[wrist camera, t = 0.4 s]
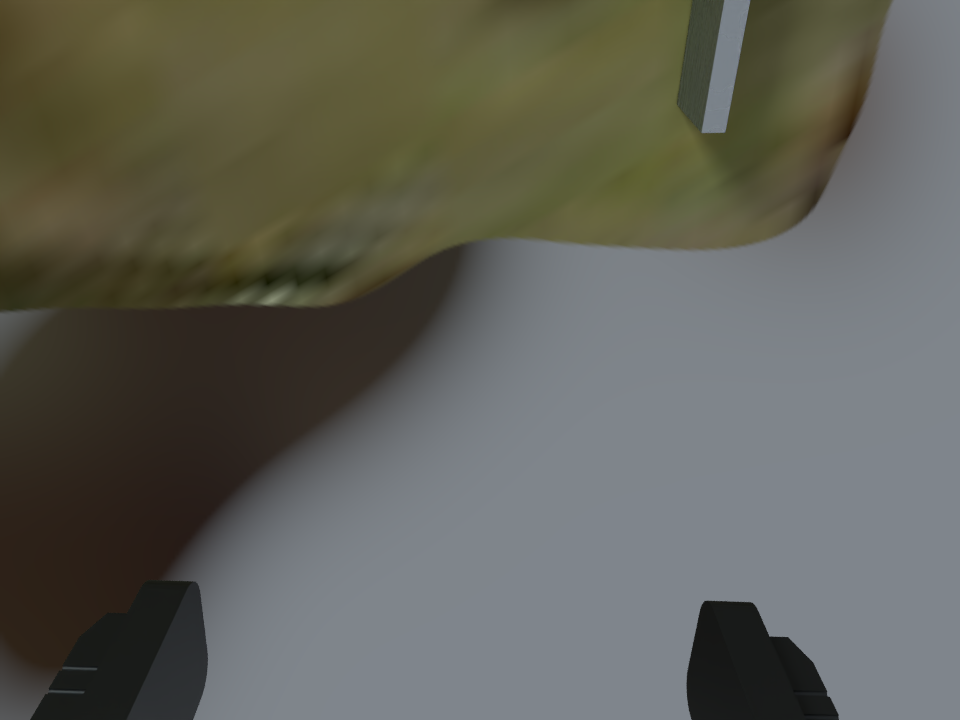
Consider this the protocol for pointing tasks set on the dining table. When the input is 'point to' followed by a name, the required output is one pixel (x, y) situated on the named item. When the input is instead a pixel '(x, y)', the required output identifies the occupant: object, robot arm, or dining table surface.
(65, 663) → the robot arm
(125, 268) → the dining table surface
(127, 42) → the dining table surface
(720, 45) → the grey square forked frame
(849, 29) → the dining table surface
